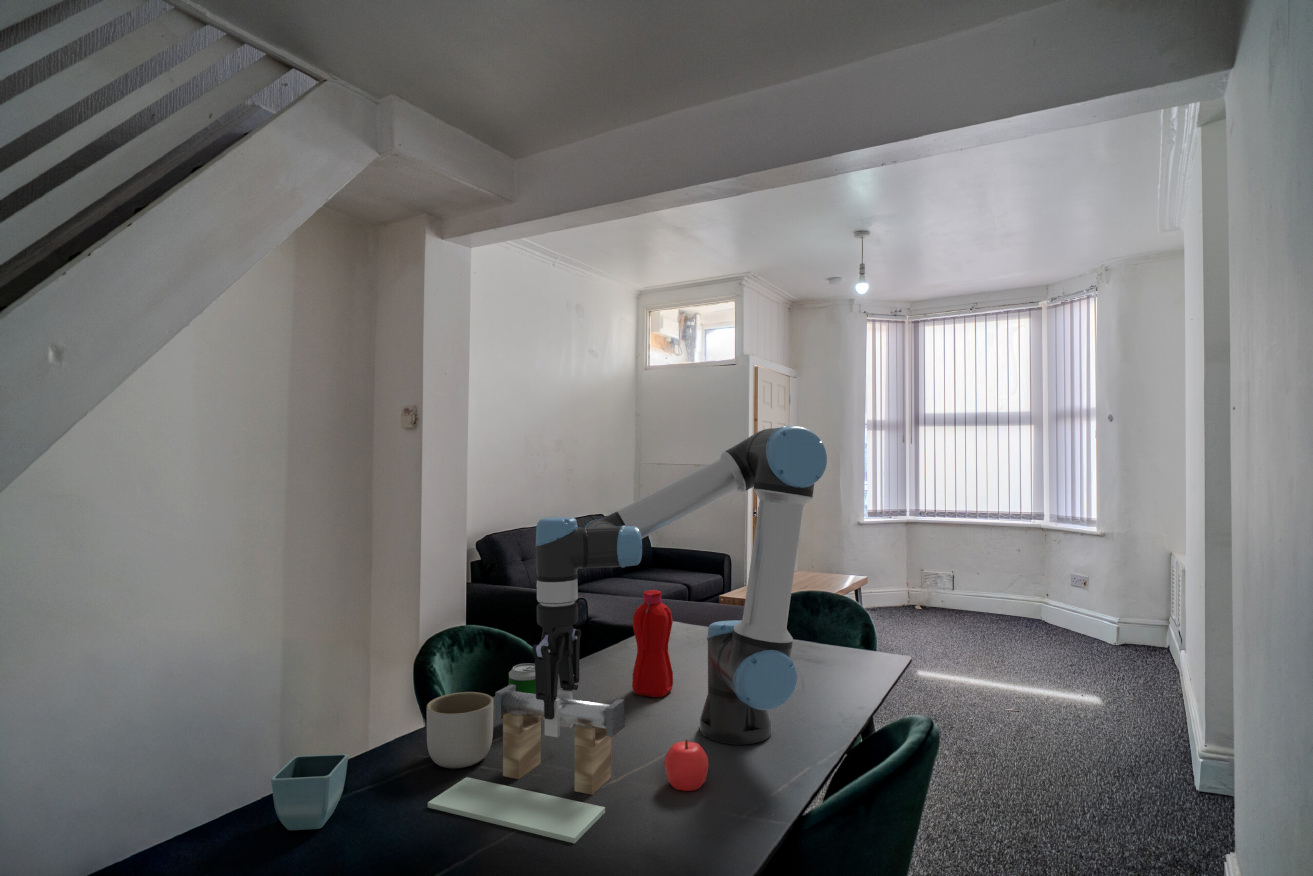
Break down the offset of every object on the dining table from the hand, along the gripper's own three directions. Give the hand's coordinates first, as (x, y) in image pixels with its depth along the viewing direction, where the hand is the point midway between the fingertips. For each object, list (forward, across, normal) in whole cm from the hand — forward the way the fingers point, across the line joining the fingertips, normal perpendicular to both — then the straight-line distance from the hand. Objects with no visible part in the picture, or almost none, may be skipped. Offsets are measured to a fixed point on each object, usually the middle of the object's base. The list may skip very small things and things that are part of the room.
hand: (559, 730), depth 127 cm
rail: (-2, 0, 0) cm, 2 cm away
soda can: (+8, -20, -20) cm, 30 cm away
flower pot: (+8, +29, -28) cm, 42 cm away
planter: (+8, +1, -21) cm, 23 cm away
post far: (+8, 0, -8) cm, 11 cm away
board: (+8, +13, 0) cm, 16 cm away
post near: (+8, 0, +7) cm, 11 cm away
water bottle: (+9, -48, -2) cm, 49 cm away
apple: (+9, -6, +23) cm, 25 cm away
